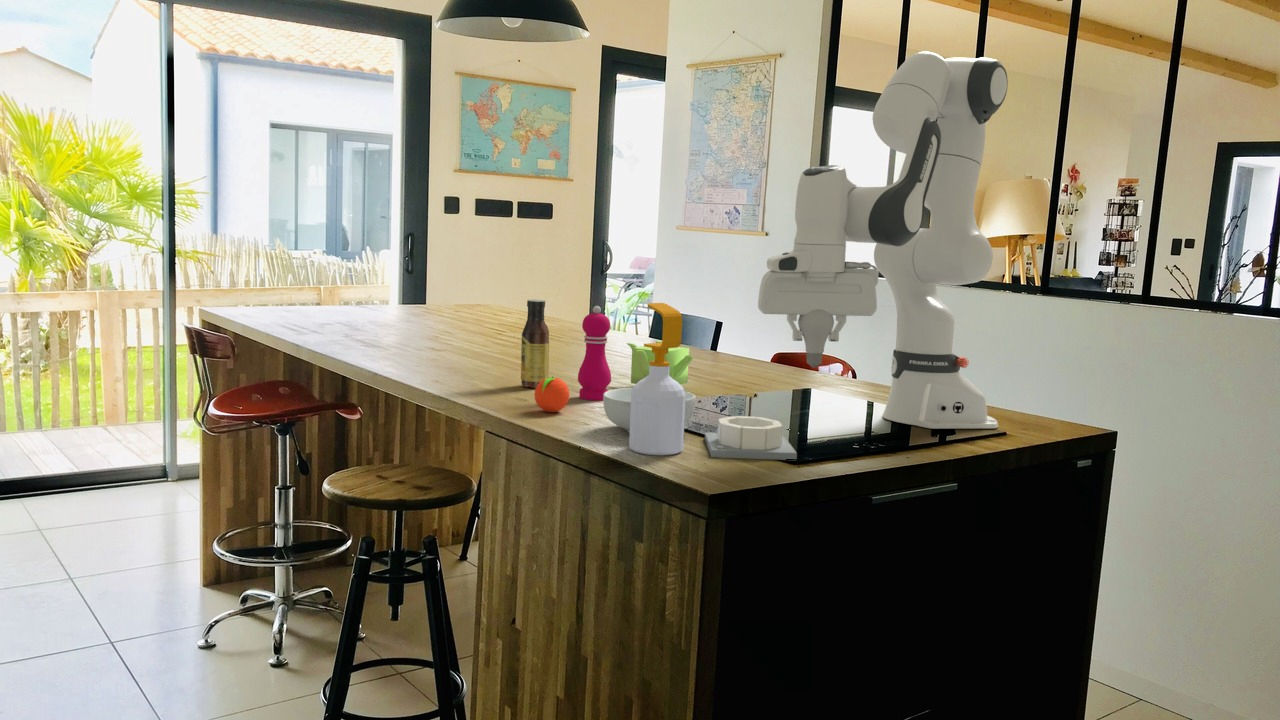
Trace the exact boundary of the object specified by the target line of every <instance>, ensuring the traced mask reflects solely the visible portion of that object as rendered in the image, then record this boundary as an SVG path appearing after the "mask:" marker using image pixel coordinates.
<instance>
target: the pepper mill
mask: <svg viewBox="0 0 1280 720" xmlns="http://www.w3.org/2000/svg"><path fill="white" fill-rule="evenodd" d="M601 311H602V309H601V307H600V306H599V305H595V306H594V307H593V308H592V312H593V313H589V314H587V315H586V316H585V317H583V320H582V324H581V325H582V326H581V327H582V330H583V332H584V333H585V335H584V340H583V342H584V343H585V354H584V358H583V360H582V364H581V365H580V368H579V370H578V373H577V374H578V375H577V381H578V383H579V385H580V386H581V387H582V388H580V389H579V393H578V394H579V398H580V400H584V401H585V400H586V401H593V402H595V401H603V395H604V393H605V392H607V391H609V390H608V389H607V387H608V386H609V385H610V384H611V382H612V373H611V369H610V366H609V364H608V361H607V358H606V357H607V356H606V344H607V343H608V336H607V335H608V333H609V332H610V329H611V321H610V319H609V317H607V316H606V315H605V314H602V313H601Z"/></svg>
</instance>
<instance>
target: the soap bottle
mask: <svg viewBox="0 0 1280 720" xmlns="http://www.w3.org/2000/svg"><path fill="white" fill-rule="evenodd" d="M647 307H648V308H650V309H652V310H653V311H655V312H656V313H658V314H660V316H661V317H662V338H661V339H662V340H661V341H662V343H656V342H651V343H643V346H644V347H650V348H652V353H655V361H650V367H649V375H648V376H647V377H646V378H644V379H642V380H640V381H639V382H638V383H636V384H634V385H633V386H632V388H633V389H632V391H631V410H630V433H629V435H628V436H629V440H628V442H629V443H628V446H629V449H630V450H631V451H633V452H634V453H638V454H640V455H641V454H642V455H645V456H646V455H648V456H671V455H676V454H680V453H681V452H682V451H683V450H684V437H685V436H684V435H685V424H684V419H685V397H686V394H685V389H684V387H683V386H682V384H679V383H678V382H677V381H675V380H674V379H672V378H671V377H670V376H669V362H666V361H665V354H666V353H668V349H669V348H677V347H681V345H682V334H683V333H682V332H683V316H682V313H681V312H680V311H679V310H678V309H677V308H674V307H672V306H671V305H669V304H667V303H665V302H649V303H648V304H647Z"/></svg>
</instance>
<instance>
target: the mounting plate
mask: <svg viewBox="0 0 1280 720" xmlns="http://www.w3.org/2000/svg"><path fill="white" fill-rule="evenodd" d="M704 441H705V444H706V446H707V449H708V452H709V454H710V457H711V458H719V459H720V458H725V459H749V460H753V459H754V460H777V461H778V460H779V461H787V460H786V459H797V460H798V458H797V457H798V453H797V451H796V450H795V449H794V447H793V446H792V444H791V443H790V442H789V441H788V440H787V438H786V437H785V436H784V435H783V434H782V445H781V447H776V448H772V449H765V450H761V449H741V448H735V447H730V446H726V445H722V444H719V441H718V432H705V433H704Z"/></svg>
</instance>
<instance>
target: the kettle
mask: <svg viewBox="0 0 1280 720" xmlns="http://www.w3.org/2000/svg"><path fill="white" fill-rule="evenodd" d="M655 343H662V340H656V341H655ZM625 344H627V346H629V347H630V349H631V368H630V369H631V371H630V372H631V373H630V384H634V385H635V384H636V383H638V382H639V381H640V380H642V379H644V378H646V377H647V376H648V375H649V367H650V361H655V353H652V348H650V347H644V345H643V346H637V345H636V344H635V343H633V342H632V343H630V342H626V343H625ZM693 359H694V356H693V355H690V348H689V347H683V346H682V347H681V346H679V347H677V348H669V349H668V353H666V354H665V361H666V362H669V376H670V377H671V378H672V379H674V380H675V381H677V382H678V383H679V384H680V385H683V384H687V383H688V379H689V377H688V375H689V365H690V363H691V362H692V361H693Z"/></svg>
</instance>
